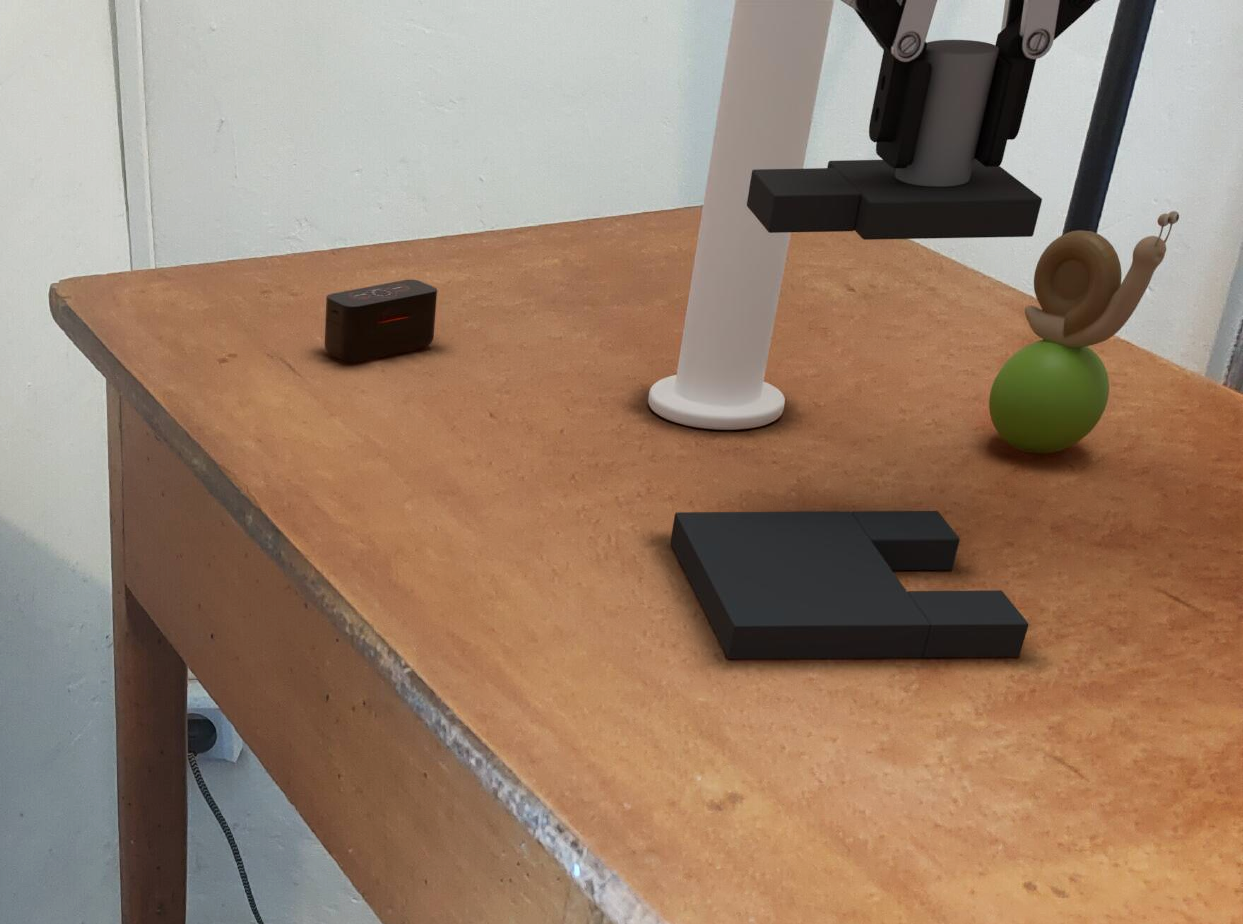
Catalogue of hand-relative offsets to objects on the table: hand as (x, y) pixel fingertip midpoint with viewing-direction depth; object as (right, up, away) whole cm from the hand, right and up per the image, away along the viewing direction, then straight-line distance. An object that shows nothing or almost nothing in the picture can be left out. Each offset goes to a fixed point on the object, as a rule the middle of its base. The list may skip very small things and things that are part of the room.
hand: (937, 155), depth 79 cm
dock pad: (-3, -18, +3) cm, 18 cm away
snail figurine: (+12, -7, +16) cm, 21 cm away
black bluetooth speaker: (-20, +4, +31) cm, 37 cm away
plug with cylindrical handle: (-2, -2, +2) cm, 3 cm away
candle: (-3, -3, +22) cm, 22 cm away
